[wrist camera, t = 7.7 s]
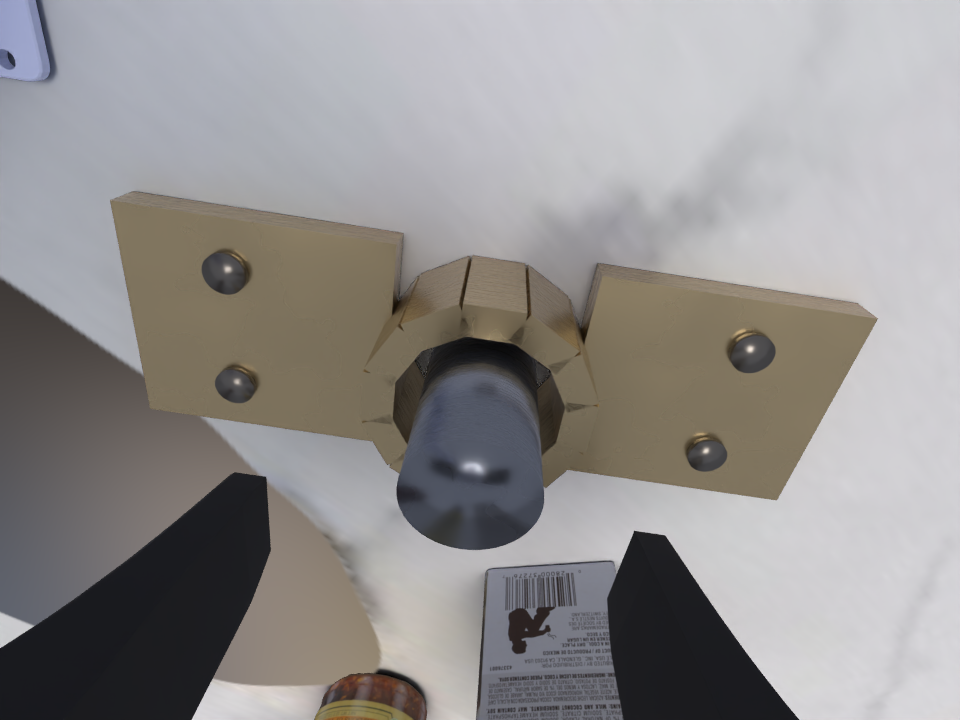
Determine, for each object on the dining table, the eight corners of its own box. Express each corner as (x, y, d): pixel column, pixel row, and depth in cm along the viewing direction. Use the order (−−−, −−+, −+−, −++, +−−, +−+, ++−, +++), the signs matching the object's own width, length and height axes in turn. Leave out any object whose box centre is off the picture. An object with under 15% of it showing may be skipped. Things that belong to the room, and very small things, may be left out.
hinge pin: (432, 377, 21) (392, 539, 14) (441, 291, 20) (401, 428, 13) (524, 391, 21) (529, 558, 14) (542, 306, 20) (557, 451, 13)
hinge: (167, 391, 22) (103, 455, 19) (133, 191, 18) (44, 225, 15) (764, 479, 23) (809, 557, 19) (857, 303, 19) (934, 362, 15)
